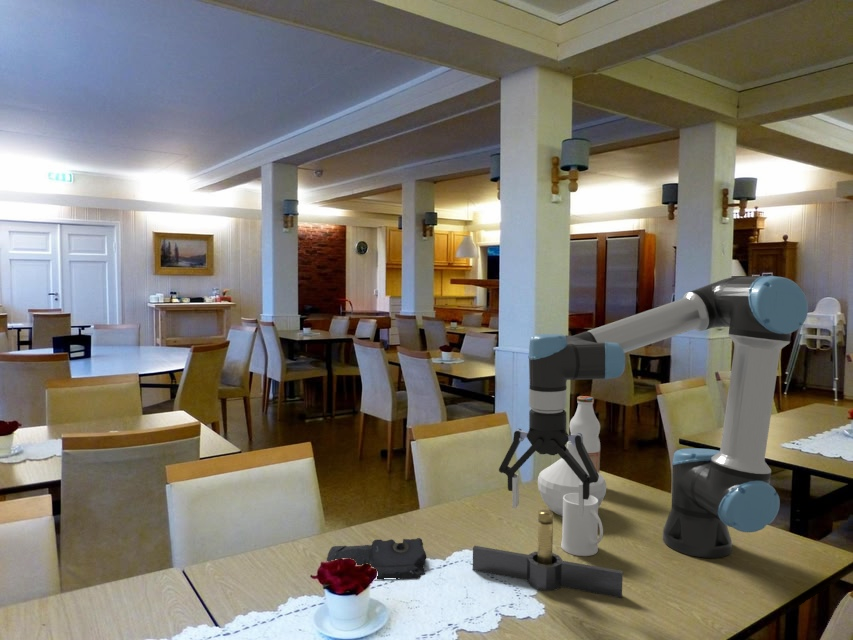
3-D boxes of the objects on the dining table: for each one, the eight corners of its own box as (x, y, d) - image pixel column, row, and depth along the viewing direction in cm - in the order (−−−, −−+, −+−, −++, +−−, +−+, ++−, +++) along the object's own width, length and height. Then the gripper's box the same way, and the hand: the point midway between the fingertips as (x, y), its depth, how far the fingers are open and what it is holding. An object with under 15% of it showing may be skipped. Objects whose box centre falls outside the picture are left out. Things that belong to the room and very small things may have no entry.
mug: (614, 559, 135) (615, 508, 134) (582, 565, 132) (583, 512, 132) (584, 538, 146) (585, 490, 145) (554, 543, 143) (555, 494, 143)
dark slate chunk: (328, 552, 139) (328, 532, 139) (422, 548, 141) (422, 528, 141) (324, 585, 124) (323, 563, 123) (428, 580, 126) (429, 558, 126)
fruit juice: (584, 494, 176) (587, 401, 175) (561, 485, 184) (563, 396, 182) (605, 488, 182) (608, 398, 180) (581, 480, 189) (583, 393, 188)
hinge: (622, 588, 122) (623, 564, 122) (620, 605, 116) (621, 580, 115) (477, 561, 133) (478, 540, 133) (468, 576, 127) (468, 553, 127)
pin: (552, 580, 125) (554, 510, 125) (550, 586, 123) (551, 516, 122) (538, 577, 127) (539, 508, 126) (535, 584, 124) (537, 513, 123)
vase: (614, 525, 154) (616, 452, 153) (543, 524, 155) (545, 451, 154) (595, 499, 173) (596, 434, 172) (532, 498, 173) (533, 433, 172)
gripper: (612, 409, 121) (611, 510, 123) (493, 402, 130) (494, 496, 132) (609, 417, 114) (608, 524, 116) (484, 409, 123) (485, 508, 125)
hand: (547, 509), depth 124 cm, fingers open, 13 cm apart
